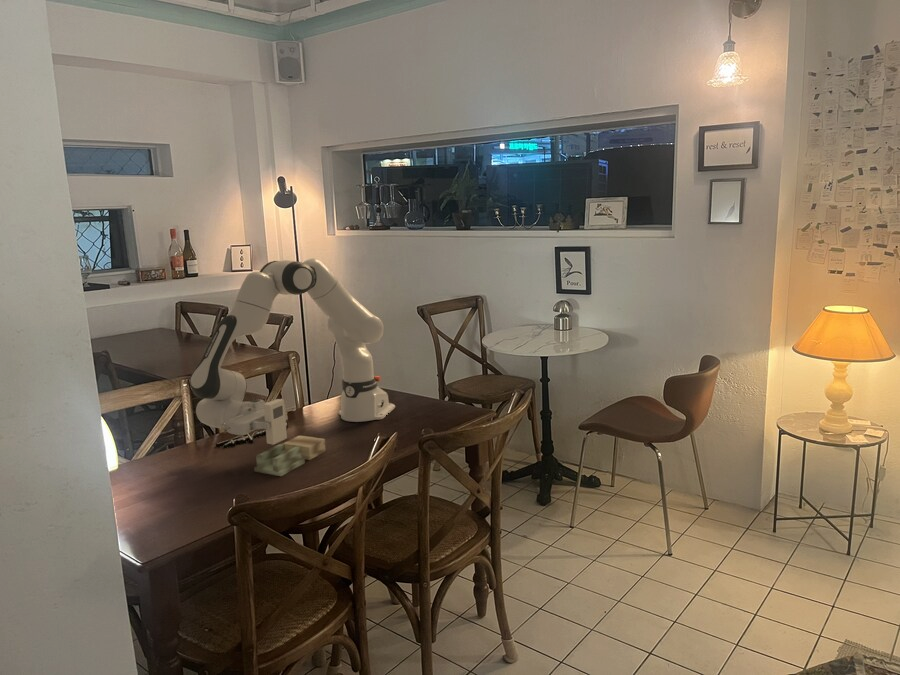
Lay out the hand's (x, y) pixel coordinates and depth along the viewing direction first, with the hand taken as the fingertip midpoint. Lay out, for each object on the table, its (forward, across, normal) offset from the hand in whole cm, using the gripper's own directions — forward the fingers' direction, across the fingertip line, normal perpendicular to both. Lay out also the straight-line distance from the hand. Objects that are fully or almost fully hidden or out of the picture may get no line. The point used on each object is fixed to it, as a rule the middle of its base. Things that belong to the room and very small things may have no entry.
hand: (277, 421), depth 200 cm
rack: (-1, 0, +14) cm, 14 cm away
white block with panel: (-1, 0, +6) cm, 6 cm away
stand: (-1, +12, +14) cm, 19 cm away
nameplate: (-27, +19, +15) cm, 36 cm away
